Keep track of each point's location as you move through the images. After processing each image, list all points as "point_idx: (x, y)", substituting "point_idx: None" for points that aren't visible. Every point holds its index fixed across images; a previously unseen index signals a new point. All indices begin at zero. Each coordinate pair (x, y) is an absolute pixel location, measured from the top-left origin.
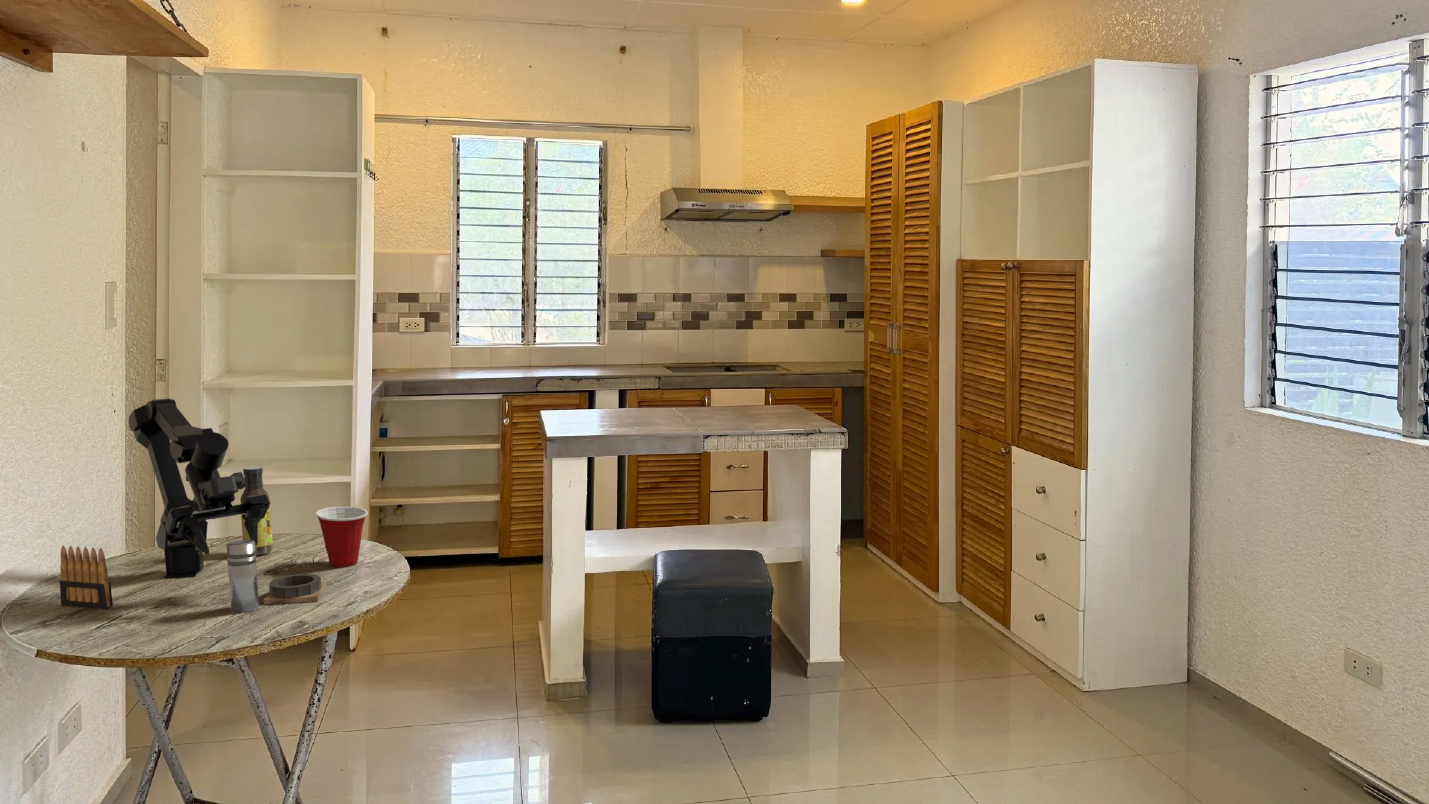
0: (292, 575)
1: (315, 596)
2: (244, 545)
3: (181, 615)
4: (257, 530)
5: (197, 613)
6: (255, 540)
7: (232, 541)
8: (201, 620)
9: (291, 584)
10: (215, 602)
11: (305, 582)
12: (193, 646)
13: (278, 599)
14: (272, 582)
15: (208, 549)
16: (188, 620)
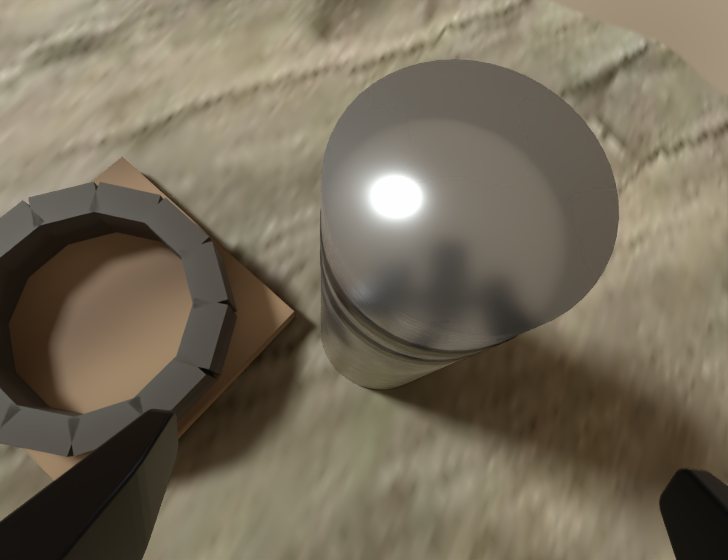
0: (14, 421)
1: (125, 163)
2: (488, 72)
3: (613, 475)
4: (9, 517)
5: (551, 442)
6: (161, 421)
7: (506, 332)
8: (572, 331)
9: (60, 410)
10: (424, 550)
11: (4, 361)
12: (680, 97)
13: (245, 268)
14: (178, 383)
15: (703, 482)
16: (611, 376)
